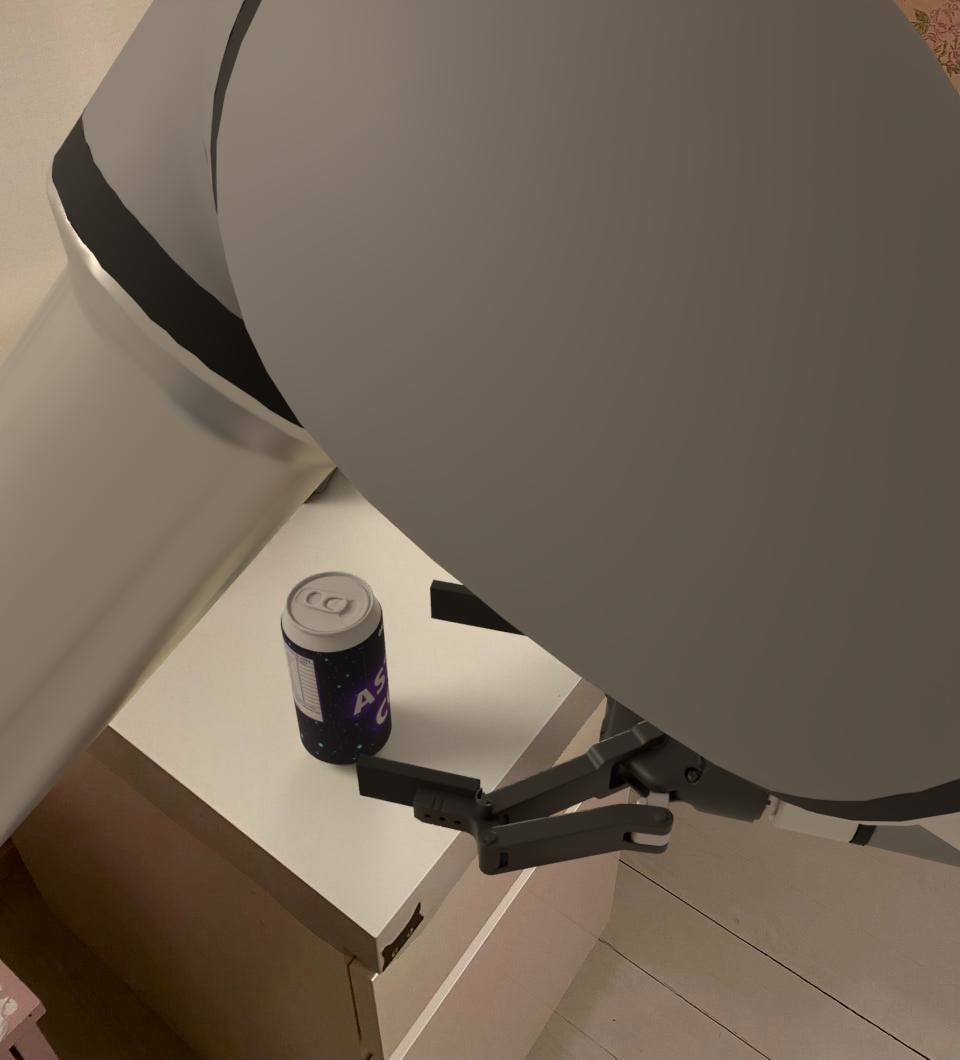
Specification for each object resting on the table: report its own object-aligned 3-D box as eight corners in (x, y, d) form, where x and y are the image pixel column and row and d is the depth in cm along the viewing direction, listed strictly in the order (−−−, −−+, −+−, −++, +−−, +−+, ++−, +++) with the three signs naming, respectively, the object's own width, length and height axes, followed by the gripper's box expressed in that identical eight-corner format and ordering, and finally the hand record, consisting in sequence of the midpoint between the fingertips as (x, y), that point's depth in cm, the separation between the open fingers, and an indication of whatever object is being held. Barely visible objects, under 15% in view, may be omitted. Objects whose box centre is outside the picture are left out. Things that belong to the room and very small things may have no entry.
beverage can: (368, 785, 63) (353, 650, 55) (285, 757, 64) (258, 622, 56) (407, 715, 67) (397, 580, 59) (327, 691, 68) (308, 555, 60)
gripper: (746, 1010, 50) (328, 906, 54) (770, 638, 68) (456, 581, 72) (776, 931, 45) (314, 824, 49) (793, 553, 63) (455, 497, 67)
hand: (398, 679), depth 60 cm, fingers open, 13 cm apart
